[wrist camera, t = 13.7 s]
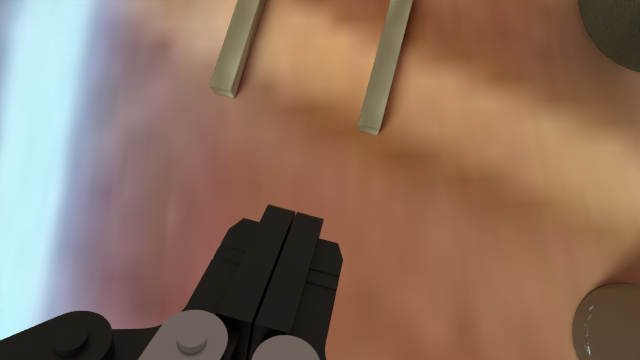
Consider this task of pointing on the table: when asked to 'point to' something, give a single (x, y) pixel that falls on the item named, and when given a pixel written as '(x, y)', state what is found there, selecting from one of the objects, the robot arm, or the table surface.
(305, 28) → the table surface
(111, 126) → the table surface
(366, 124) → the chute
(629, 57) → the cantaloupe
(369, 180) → the table surface
